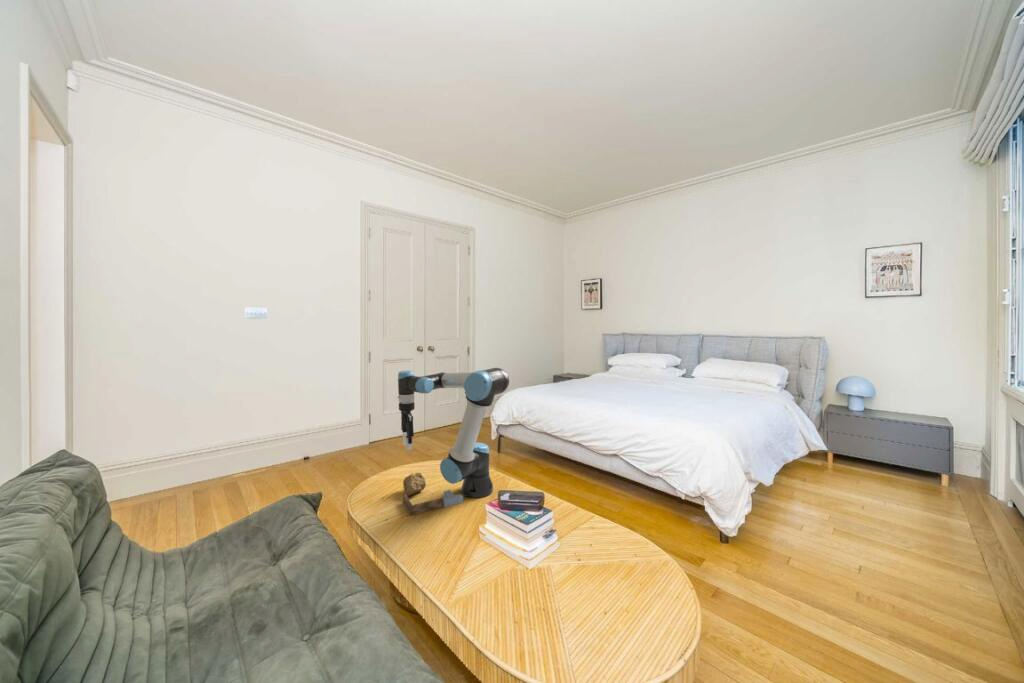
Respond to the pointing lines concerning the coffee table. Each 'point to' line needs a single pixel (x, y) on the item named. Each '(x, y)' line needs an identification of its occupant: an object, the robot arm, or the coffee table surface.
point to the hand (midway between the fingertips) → (407, 447)
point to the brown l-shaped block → (422, 505)
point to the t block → (452, 499)
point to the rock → (414, 483)
